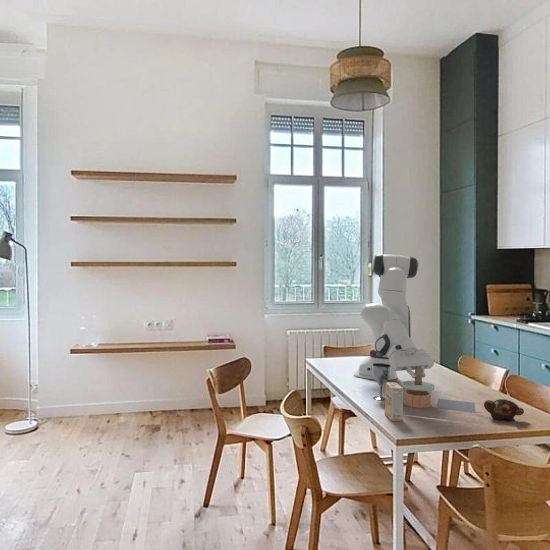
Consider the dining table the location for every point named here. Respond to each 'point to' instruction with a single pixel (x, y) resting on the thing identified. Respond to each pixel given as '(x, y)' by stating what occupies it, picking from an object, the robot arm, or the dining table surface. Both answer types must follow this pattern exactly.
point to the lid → (418, 383)
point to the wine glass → (381, 376)
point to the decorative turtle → (503, 409)
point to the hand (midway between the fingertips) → (419, 377)
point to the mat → (456, 405)
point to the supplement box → (394, 401)
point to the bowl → (417, 398)
